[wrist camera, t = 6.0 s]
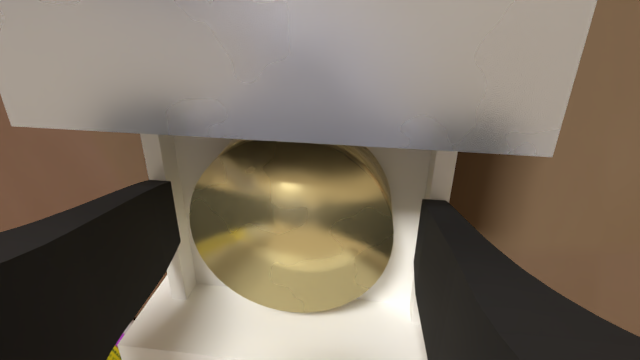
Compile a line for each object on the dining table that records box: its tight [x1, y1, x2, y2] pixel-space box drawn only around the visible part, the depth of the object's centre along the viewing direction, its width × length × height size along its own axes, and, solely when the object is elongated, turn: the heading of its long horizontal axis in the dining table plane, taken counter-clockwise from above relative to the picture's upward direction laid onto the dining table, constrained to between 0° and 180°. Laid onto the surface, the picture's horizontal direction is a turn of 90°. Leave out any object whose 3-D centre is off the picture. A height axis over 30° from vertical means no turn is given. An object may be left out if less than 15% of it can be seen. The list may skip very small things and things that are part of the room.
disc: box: [189, 139, 394, 313], centre depth 11 cm, size 5×5×2 cm
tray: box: [118, 134, 458, 360], centre depth 11 cm, size 10×10×4 cm
